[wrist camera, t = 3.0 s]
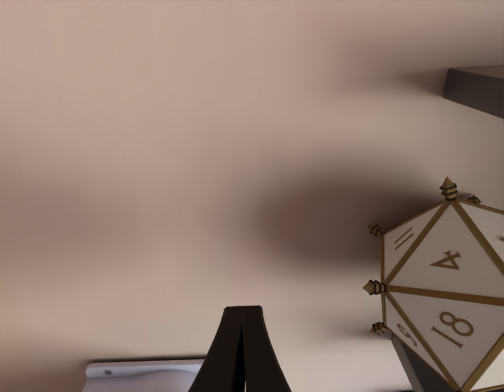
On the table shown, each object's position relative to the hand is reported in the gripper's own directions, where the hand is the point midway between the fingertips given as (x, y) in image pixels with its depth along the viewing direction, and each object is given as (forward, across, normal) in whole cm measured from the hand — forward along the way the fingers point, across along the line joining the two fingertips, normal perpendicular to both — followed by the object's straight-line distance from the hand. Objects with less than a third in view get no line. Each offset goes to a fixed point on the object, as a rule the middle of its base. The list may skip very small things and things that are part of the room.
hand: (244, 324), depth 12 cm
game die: (+6, -9, 0) cm, 11 cm away
